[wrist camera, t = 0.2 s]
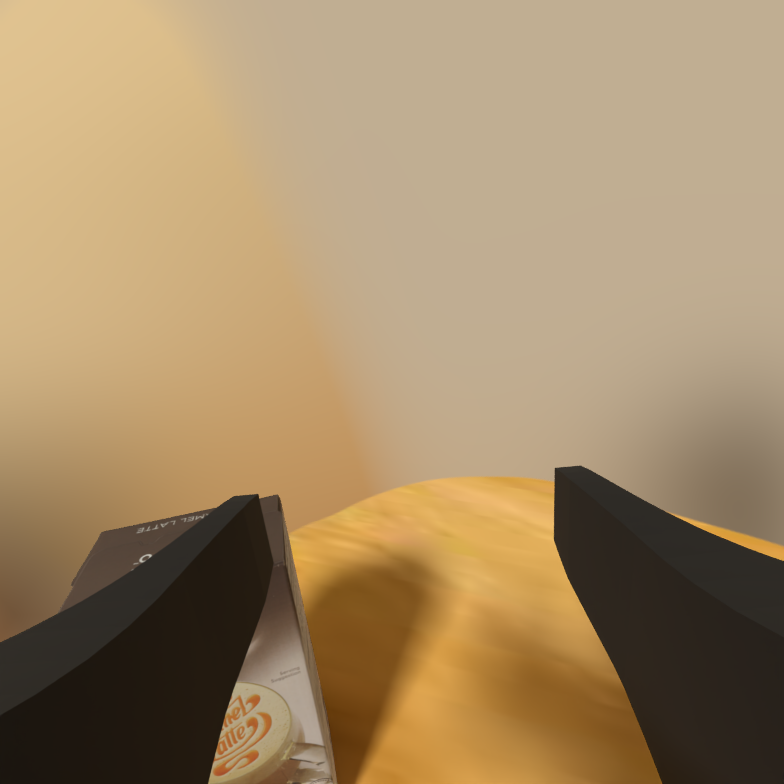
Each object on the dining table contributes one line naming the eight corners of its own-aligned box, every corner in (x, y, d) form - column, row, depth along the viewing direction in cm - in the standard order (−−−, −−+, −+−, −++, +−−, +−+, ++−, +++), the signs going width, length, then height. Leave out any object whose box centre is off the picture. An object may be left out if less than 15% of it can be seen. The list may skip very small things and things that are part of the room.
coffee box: (157, 893, 23) (36, 625, 18) (180, 759, 29) (94, 531, 24) (346, 820, 24) (284, 558, 20) (330, 709, 30) (279, 488, 26)
